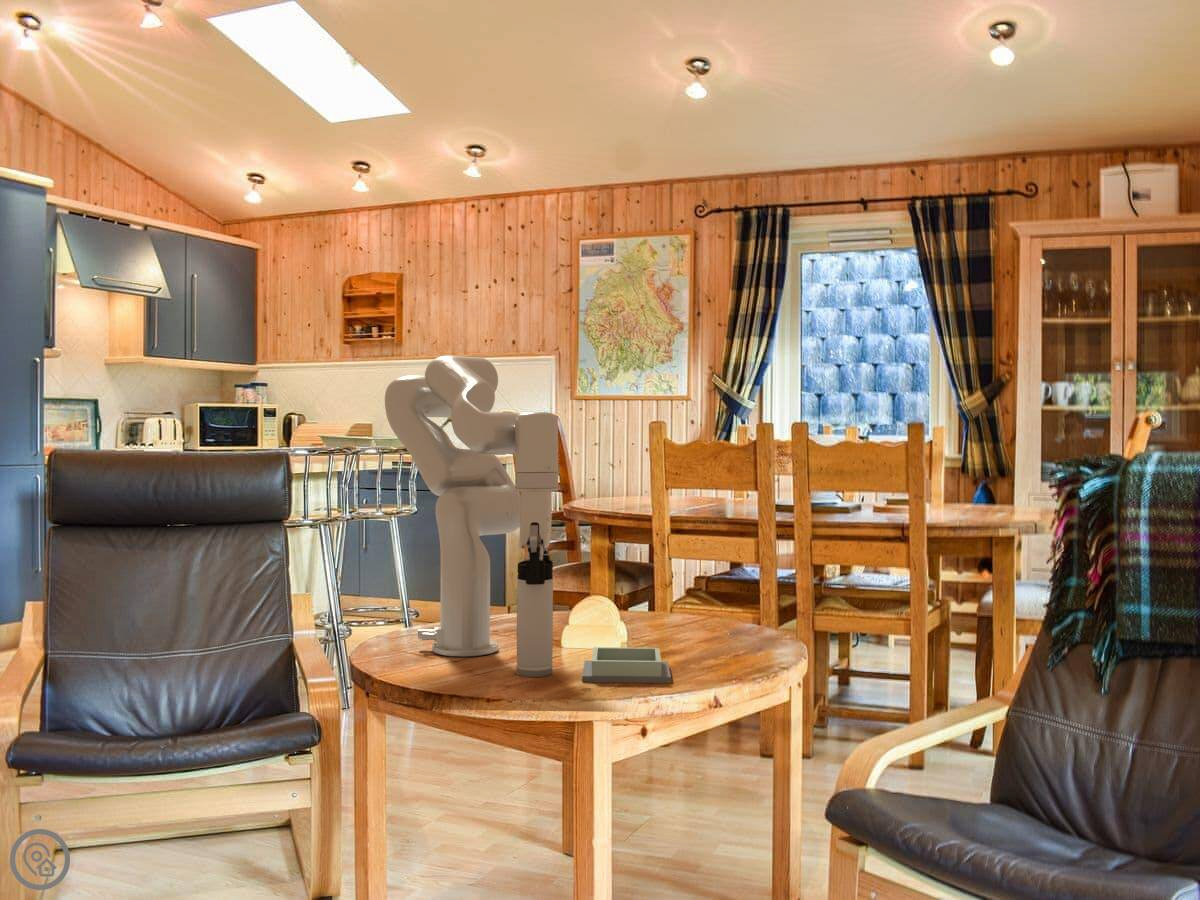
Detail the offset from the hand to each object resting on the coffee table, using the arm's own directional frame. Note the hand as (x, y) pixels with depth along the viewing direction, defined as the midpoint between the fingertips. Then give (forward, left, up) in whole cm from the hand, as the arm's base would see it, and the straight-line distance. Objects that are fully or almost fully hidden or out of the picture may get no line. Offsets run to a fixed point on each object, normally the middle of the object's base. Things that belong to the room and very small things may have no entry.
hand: (537, 580), depth 187 cm
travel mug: (0, 0, -17) cm, 17 cm away
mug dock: (+16, 0, -16) cm, 23 cm away
